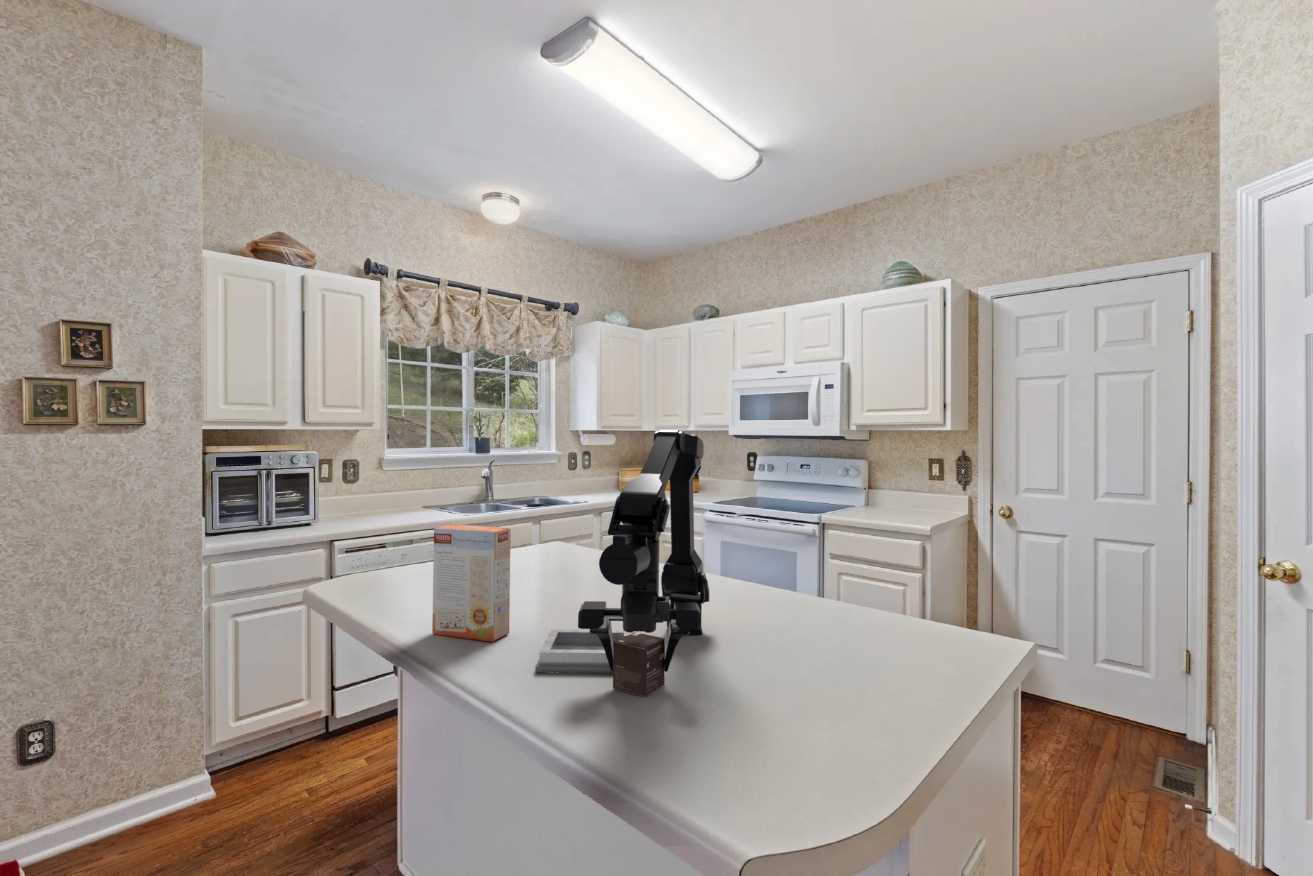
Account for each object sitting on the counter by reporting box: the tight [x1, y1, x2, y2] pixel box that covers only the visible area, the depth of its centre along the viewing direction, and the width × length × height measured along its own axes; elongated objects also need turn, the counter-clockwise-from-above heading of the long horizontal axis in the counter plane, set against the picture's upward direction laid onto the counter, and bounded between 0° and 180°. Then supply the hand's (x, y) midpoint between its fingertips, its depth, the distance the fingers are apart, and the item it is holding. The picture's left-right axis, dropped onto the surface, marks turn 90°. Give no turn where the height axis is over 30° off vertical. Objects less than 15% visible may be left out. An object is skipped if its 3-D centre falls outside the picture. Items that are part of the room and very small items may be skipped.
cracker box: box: [431, 524, 511, 643], centre depth 117 cm, size 14×6×21 cm, turn 71°
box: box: [612, 631, 666, 698], centre depth 93 cm, size 6×6×7 cm
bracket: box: [534, 628, 625, 675], centre depth 105 cm, size 14×14×3 cm
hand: (639, 670), depth 93 cm, fingers closed on box, 8 cm apart
